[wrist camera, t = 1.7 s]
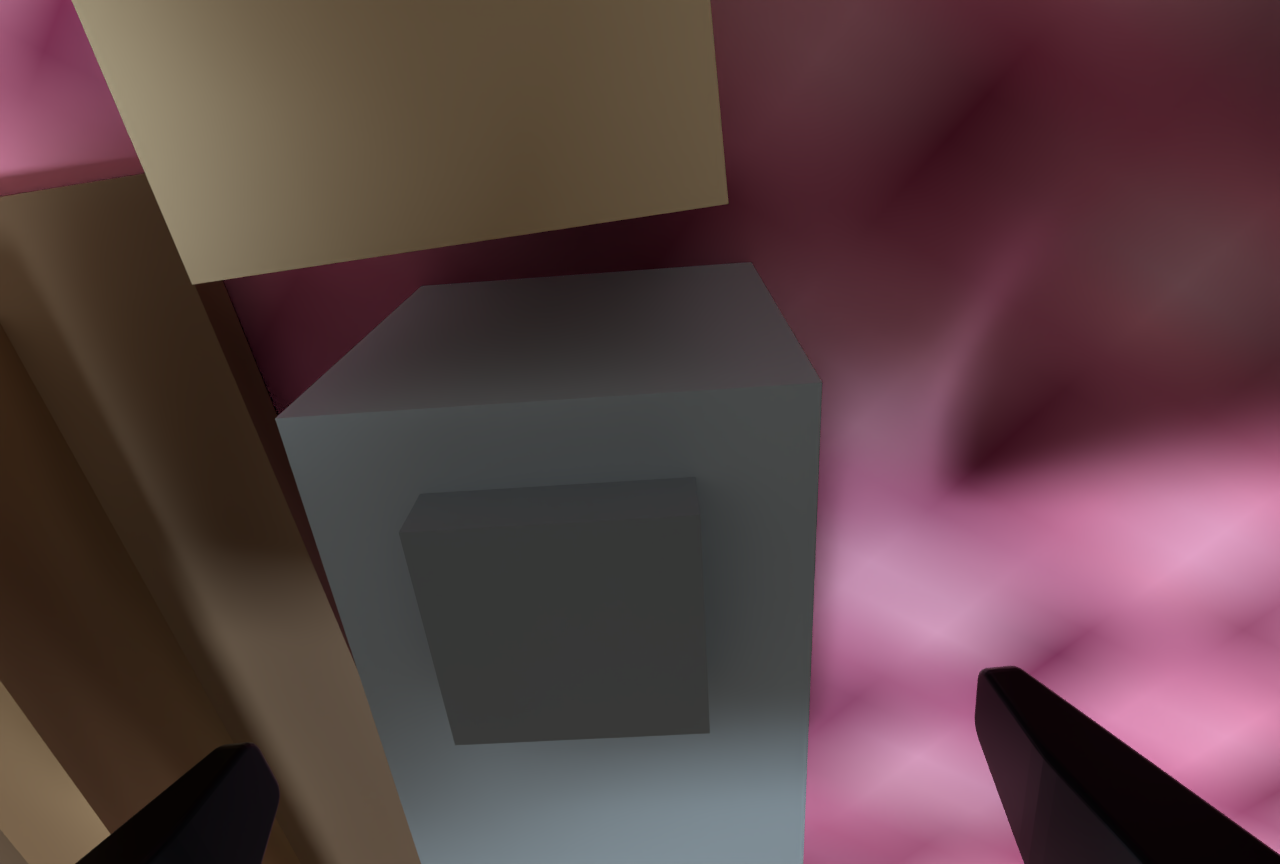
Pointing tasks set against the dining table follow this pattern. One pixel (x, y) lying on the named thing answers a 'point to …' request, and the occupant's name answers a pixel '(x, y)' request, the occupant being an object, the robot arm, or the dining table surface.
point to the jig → (157, 553)
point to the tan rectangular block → (407, 120)
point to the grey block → (578, 562)
